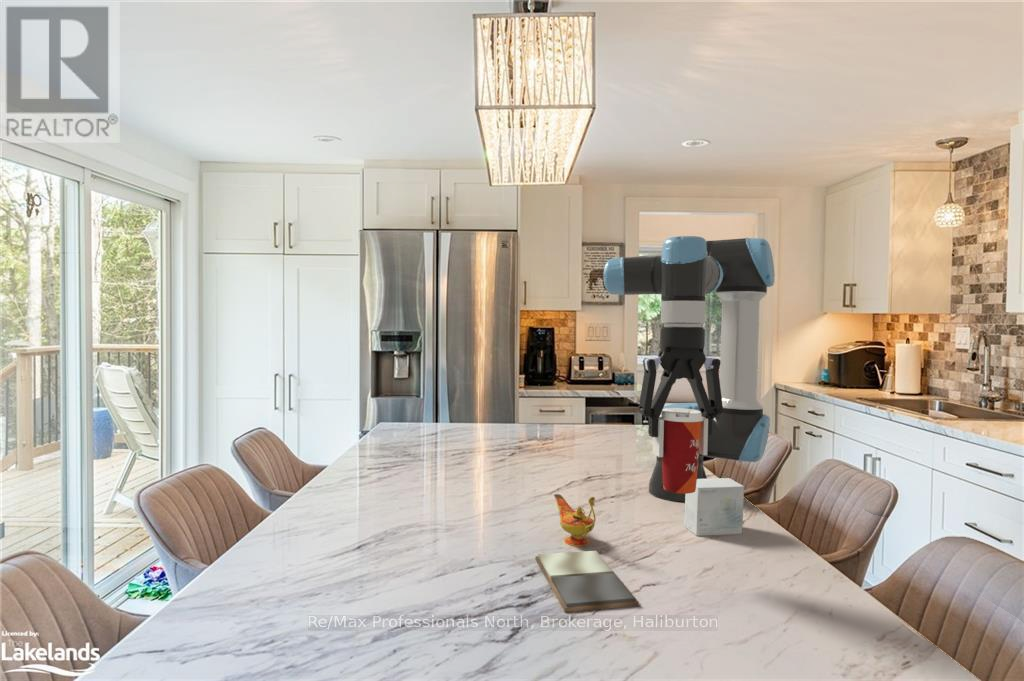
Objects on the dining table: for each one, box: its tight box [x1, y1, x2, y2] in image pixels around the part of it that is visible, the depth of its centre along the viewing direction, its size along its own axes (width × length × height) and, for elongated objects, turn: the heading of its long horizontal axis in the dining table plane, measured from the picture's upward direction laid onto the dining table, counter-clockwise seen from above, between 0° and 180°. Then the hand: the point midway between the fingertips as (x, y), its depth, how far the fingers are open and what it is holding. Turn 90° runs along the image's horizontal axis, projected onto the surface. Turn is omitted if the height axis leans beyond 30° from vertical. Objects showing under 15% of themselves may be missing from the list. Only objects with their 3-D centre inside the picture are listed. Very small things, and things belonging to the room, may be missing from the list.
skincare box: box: [683, 477, 745, 537], centre depth 127 cm, size 10×6×10 cm, turn 99°
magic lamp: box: [553, 493, 596, 547], centre depth 121 cm, size 7×18×11 cm, turn 20°
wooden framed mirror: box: [535, 550, 640, 613], centre depth 102 cm, size 12×20×1 cm, turn 11°
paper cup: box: [659, 408, 704, 494], centre depth 105 cm, size 8×8×14 cm
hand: (679, 454), depth 105 cm, fingers closed on paper cup, 8 cm apart
